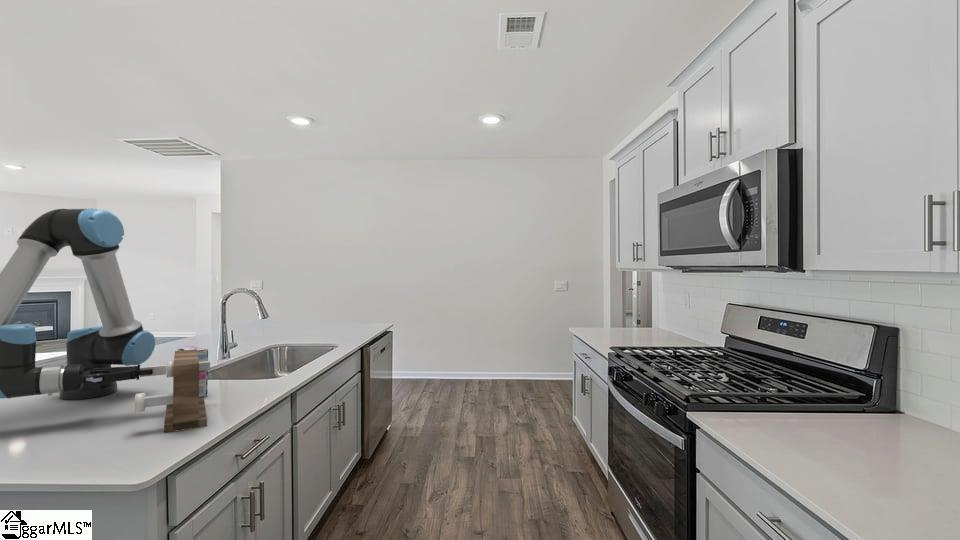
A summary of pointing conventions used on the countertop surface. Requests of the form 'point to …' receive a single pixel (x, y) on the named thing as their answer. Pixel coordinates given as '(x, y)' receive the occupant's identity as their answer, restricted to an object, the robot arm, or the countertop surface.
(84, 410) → the countertop surface
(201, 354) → the candy bar box
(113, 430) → the countertop surface
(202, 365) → the upper plunger
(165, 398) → the lower plunger
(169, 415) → the slatted wooden stand
